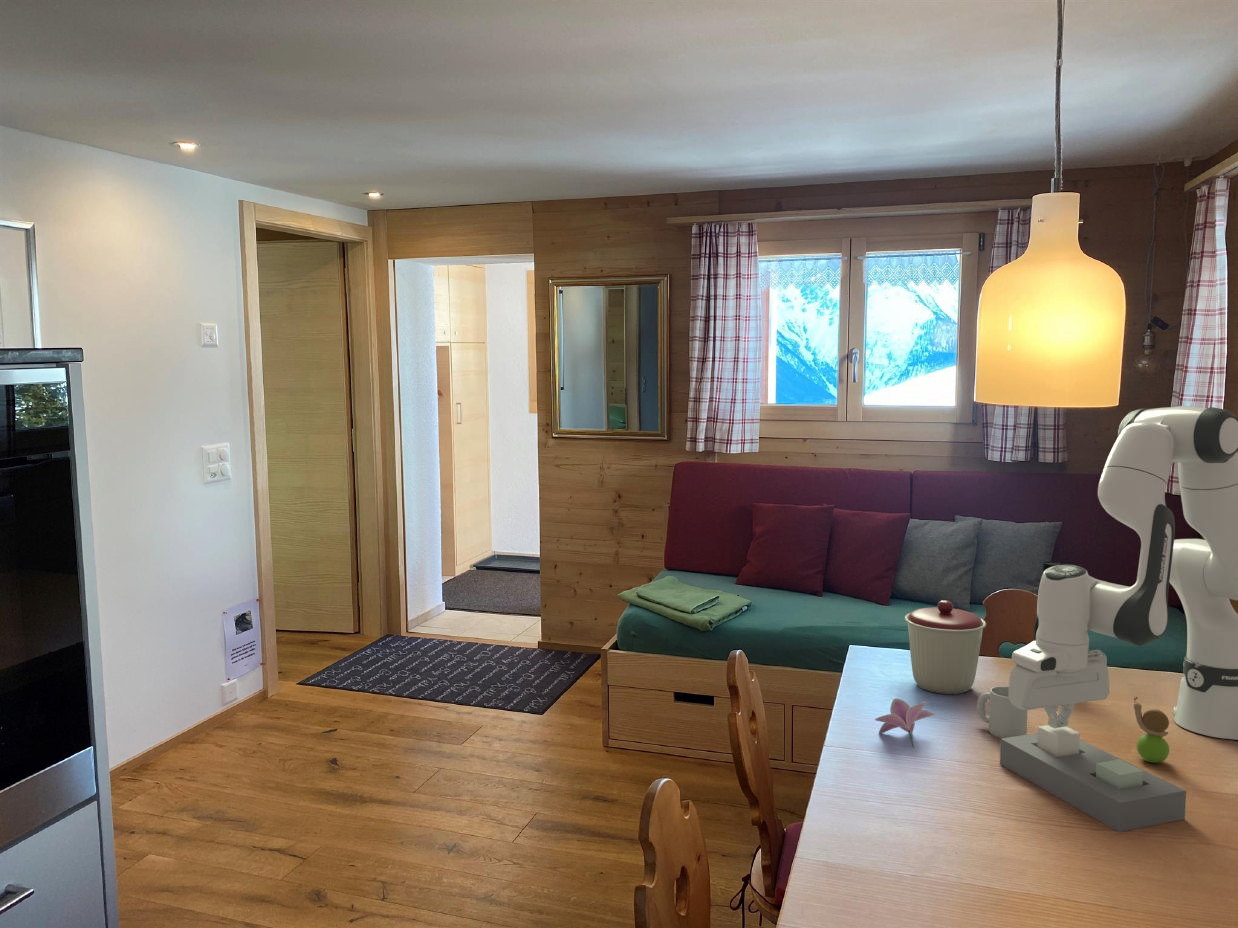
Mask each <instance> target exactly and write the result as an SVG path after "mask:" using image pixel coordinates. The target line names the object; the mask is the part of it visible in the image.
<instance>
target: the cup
mask: <svg viewBox="0 0 1238 928" xmlns="http://www.w3.org/2000/svg"><path fill="white" fill-rule="evenodd" d="M988 700H989V714H987V711H986V708H985V707H986V703H987V701H988ZM976 707H977V713H978V716H979V718H980V719H981V721H983V722H984V723H985V724H988V730H989V733H990V734H991V735H992V736H994V737H996V738H999V739H1002V738H1008V737H1015V736H1021V735H1027V729H1028V728H1027V727H1028V710H1022V709H1019V708H1017V707H1015V706H1013V705H1012V704H1011V702H1010V700H1009V685H1008V686H1007V685H1001V686H1000V685H998V686H993V687H991V688H990V690H989V691H985V692H982V693H981V694H980V695H979V696H978V699H977V704H976Z"/></svg>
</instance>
